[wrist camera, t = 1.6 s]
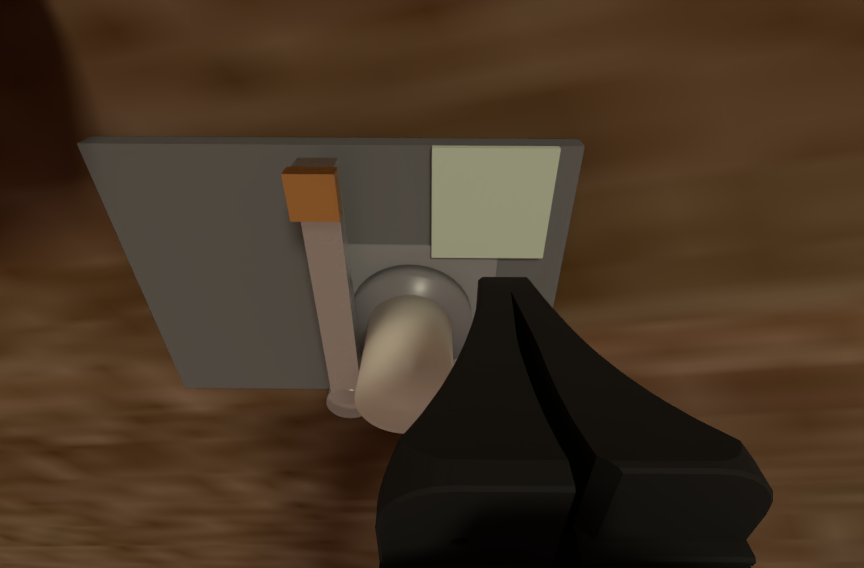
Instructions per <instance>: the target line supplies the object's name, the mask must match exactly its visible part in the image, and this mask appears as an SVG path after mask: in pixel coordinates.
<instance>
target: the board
mask: <svg viewBox="0 0 864 568" xmlns="http://www.w3.org/2000/svg"><path fill="white" fill-rule="evenodd" d="M77 145H78V148H79V150H80V152H81V154H82V157H83V159H84V161H85V163H86V166H87V168H88V170H89V172H90V175H91V177H92V179H93V181H94V184H95V186H96V188H97V190H98V193H99V195H100V197H101V199H102V202H103V204H104V206H105V208H106V211H107V213H108V215H109V218H110V220H111V222H112V224H113V227H114V229H115V231H116V233H117V236H118V238H119V240H120V242H121V245H122V247H123V249H124V251H125V254H126V256H127V258H128V260H129V263H130V265H131V267H132V269H133V272H134V274H135V276H136V278H137V281H138V283H139V285H140V287H141V290H142V292H143V294H144V296H145V299H146V301H147V303H148V305H149V308H150V310H151V312H152V314H153V317H154V319H155V321H156V323H157V326H158V328H159V330H160V332H161V335H162V337H163V339H164V342H165V344H166V346H167V348H168V351H169V353H170V355H171V357H172V360H173V362H174V364H175V366H176V369H177V371H178V373H179V375H180V378H181V380H182V382H183V384H184V387H185V388H262V389H329V388H330V383H329V377H328V371H327V366H326V360H325V355H324V349H323V343H322V338H321V332H320V327H319V321H318V316H317V310H316V304H315V299H314V293H313V288H312V282H311V277H310V271H309V265H308V260H307V254H306V249H305V243H304V237H303V232H302V226H301V222H290V218H289V213H288V207H287V202H286V197H285V192H284V187H283V182H282V176H281V174H282V172H283V171H284V169H285V168H286V167H291V166H292V164H293V163H294V161H295V160H296V158H338V163H339V172H340V180H341V189H342V197H343V206H344V215H345V223H346V232H347V240H348V249H349V257H350V266H351V274H352V283H353V292H354V294H355V292H356V290H357V289H358V288H359V286H360V285H361V284H362V283H363V282H364V281H365V280H366V279H367V278H368V277H370V276H371V275H373V274H374V273H376V272H378V271H380V270H383V269H385V268H389V267H392V266H398V265H421V266H427V267H430V268H433V269H436V270H439V271H441V272H443V273H445V274H446V275H448V276H450V277H451V278H452V279H454V280H455V281H456V282H457V283H458V284H459V285H460V286H461V287H462V288H463V290H464V291H465V293H466V295H467V296H468V299H469V301H470V305H471V310H472V320H473V318H474V315H475V311H476V302H477V288H478V280H479V279H480V278H482V277H527V278H528V279H529V280H530V281H531V282H532V284H533V285H534V286H535V287H536V288H537V290H538V291H539V292H540V293H541V295H542V296H543V297H544V298H545V299H546V301H547V302H548V303H549V304H550V305H551V307H552V308H553V305H554V300H555V295H556V290H557V285H558V280H559V275H560V270H561V264H562V259H563V254H564V249H565V244H566V239H567V234H568V229H569V224H570V219H571V214H572V209H573V203H574V198H575V193H576V188H577V183H578V178H579V173H580V168H581V163H582V158H583V153H584V148H585V146H584V145H583V144H582V142H581V141H580V140H579V139H480V138H302V137H124V136H90V137H88V138H86V139H84V140H82V141H80V142H78V143H77ZM432 145H440V146H559V147H560V148H561V152H560V158H559V164H558V170H557V175H556V181H555V187H554V193H553V199H552V205H551V211H550V217H549V223H548V229H547V235H546V241H545V247H544V253H543V258H432ZM361 360H362V354H361ZM456 360H457V358H456V359H455V360H454V361H453V366H454V364H455V362H456Z"/></svg>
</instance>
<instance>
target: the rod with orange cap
mask: <svg viewBox="0 0 864 568" xmlns="http://www.w3.org/2000/svg"><path fill="white" fill-rule="evenodd" d="M281 176H282V182H283V187H284V192H285V197H286V202H287V207H288V213H289V218H290V222H301V226H302V232H303V237H304V243H305V249H306V254H307V260H308V265H309V271H310V277H311V282H312V288H313V293H314V299H315V304H316V310H317V316H318V321H319V327H320V332H321V338H322V343H323V349H324V355H325V360H326V366H327V371H328V377H329V383H330V388H329V392H328V396H327V400H326V404H327V407H328V409H329V410H330V411H331V412H332V413H334V414H335V415H337V416H340V417H344V418H357V417H361V414H360V413H359V411H358V410H357V407H356V405H355V391H356V386H357V381H358V375H359V370H360V365H361V351H360V343H359V334H358V326H357V317H356V309H355V300H354V292H353V283H352V274H351V266H350V257H349V249H348V240H347V232H346V223H345V215H344V206H343V197H342V189H341V180H340V172H339V163H338V158H296V160H295V161H294V163H293V164H292V166H291V167H286V168H285V169H284V171H283V172H282V174H281Z"/></svg>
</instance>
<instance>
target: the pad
mask: <svg viewBox="0 0 864 568" xmlns="http://www.w3.org/2000/svg"><path fill="white" fill-rule="evenodd" d="M560 152H561V148H560V147H559V146H440V145H432V258H543V253H544V247H545V241H546V235H547V229H548V223H549V217H550V211H551V205H552V199H553V193H554V187H555V181H556V175H557V170H558V164H559V158H560Z"/></svg>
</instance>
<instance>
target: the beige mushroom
mask: <svg viewBox="0 0 864 568" xmlns="http://www.w3.org/2000/svg"><path fill="white" fill-rule="evenodd" d="M354 300H355V309H356V317H357V326H358V334H359V343H360V351H361V354H362V360H361V365H360V370H359V375H358V381H357V386H356V391H355V405H356V407H357V410H358V411H359V413H360V414H361V416H362V417H363V418H364V419H365V420H367V421H368V422H369V423H371V424H372V425H374V426H376V427H378V428H380V429H383V430H386V431H389V432H394V433H405V432H406V431H407V430H408V429H409V428H410V426H411V425H412V424H413V423H414V422H415V421H416V420H417V419H418V417H419V416H420V415H421V414H422V412H423V411H424V410H425V408H426V407H427V406H428V404H429V403H430V402H431V400H432V399H433V398H434V396H435V395H436V393H437V392H438V391H439V389H440V388H441V386H442V384H443V383H444V381H445V380H446V378H447V376H448V374H449V373H450V371H451V369H452V368H453V361H454V360H455V359H456V358H458V356H459V354H460V352H461V350H462V348H463V345H464V343H465V341H466V338H467V335H468V333H469V330H470V328H471V325H472V322H473V320H472V310H471V305H470V301H469V299H468V296H467V295H466V293H465V291H464V290H463V288H462V287H461V286H460V285H459V284H458V283H457V282H456V281H455V280H454V279H452V278H451V277H450V276H448V275H446V274H445V273H443V272H441V271H439V270H436V269H433V268H430V267H427V266H421V265H398V266H392V267H389V268H385V269H383V270H380V271H378V272H376V273H374V274H373V275H371V276H370V277H368V278H367V279H366V280H365V281H364V282H363V283H362V284H361V285H360V286H359V288H358V289H357V290H356V292H355V294H354Z"/></svg>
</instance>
